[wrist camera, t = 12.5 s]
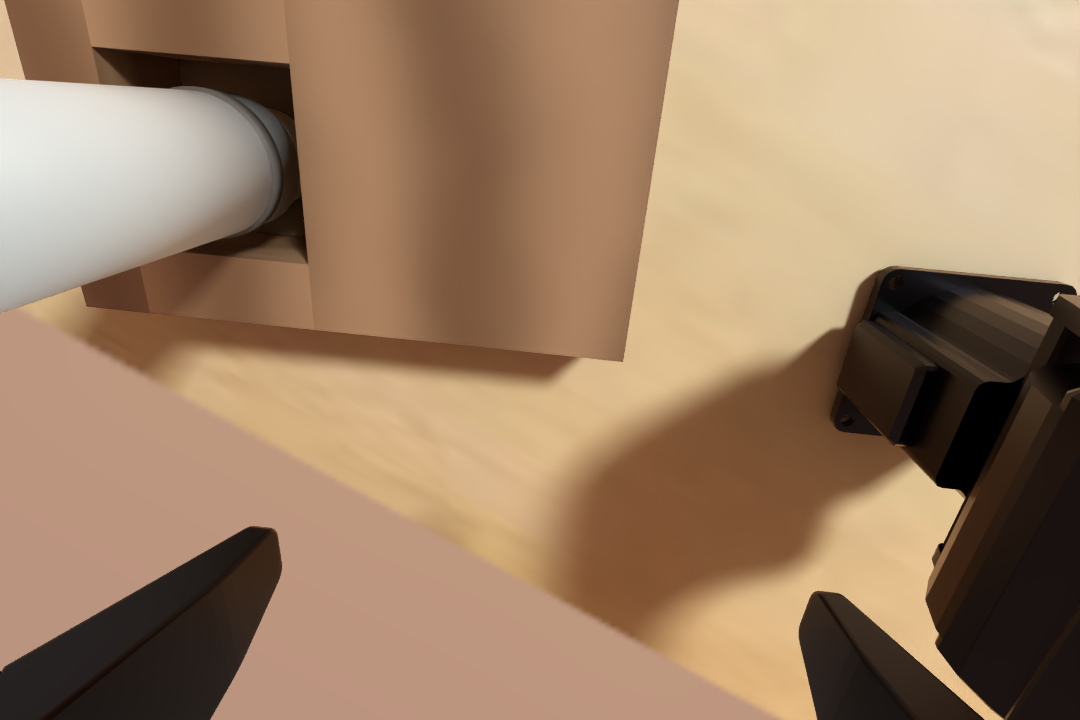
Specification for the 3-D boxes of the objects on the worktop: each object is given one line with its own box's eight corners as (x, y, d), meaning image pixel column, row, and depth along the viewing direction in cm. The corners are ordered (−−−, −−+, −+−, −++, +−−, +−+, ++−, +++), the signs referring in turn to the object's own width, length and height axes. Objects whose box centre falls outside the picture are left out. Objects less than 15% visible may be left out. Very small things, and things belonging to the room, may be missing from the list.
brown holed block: (661, 20, 17) (679, -2, 14) (617, 324, 21) (623, 361, 18) (97, -26, 18) (-11, -57, 14) (160, 278, 22) (86, 306, 18)
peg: (323, 96, 19) (-90, 67, 7) (333, 222, 20) (12, 360, 9) (202, 86, 19) (-392, 42, 7) (222, 212, 20) (-234, 335, 9)
